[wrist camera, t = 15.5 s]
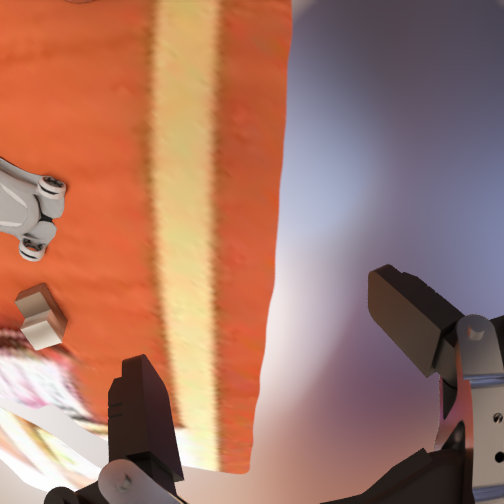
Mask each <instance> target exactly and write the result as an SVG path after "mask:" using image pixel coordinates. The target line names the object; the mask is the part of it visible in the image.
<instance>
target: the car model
mask: <svg viewBox="0 0 504 504" xmlns="http://www.w3.org/2000/svg"><path fill="white" fill-rule="evenodd" d="M65 191H66V185H65V183H63V182H61V181H58V180H55V179H54V178H53V177H51V176H40V175H36V174H32V173H29V172H26V171H24V170H21V169H19V168H17V167H15V166H13V165H11V164H10V163H8V162H6V161H5V160H3V159H1V158H0V231H1V232H4V233H8V234H12V235H14V236H16V237H17V238H18V239H19V240H20V241H21V242H20V244H19V252H20V254H21V256H22V257H23V258H25V259H27V260H29V261H39V260H41V258H42V257H43V256H44V253H45V249H46V247H47V245H48V244H49V243H50V241H51V240H52V239H53V237H54V236H55V233H56V229H57V228H56V227H55V225H54V224H53V223H52V219H55V218H59V217H61V215H62V213H63V210H64V194H65ZM27 247H30V248H34V249H35V250H37V251H33V250H30V249H28V248H27Z"/></svg>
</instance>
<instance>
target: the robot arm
mask: <svg viewBox="0 0 504 504" xmlns="http://www.w3.org/2000/svg"><path fill="white" fill-rule="evenodd" d="M66 1H68V2H72V3H85V2H90V1H93V0H66ZM368 308H369V312H370V314H371V316H372V318H373V319H374V321H375V322H376V323H377V324H378V325H379V326H380V327H381V328H382V329H383V330H384V331H385V333H387V335H388V336H389V337H390V338H391V339H392V340H393V341H394V342H395V343H396V344H397V346H398V347H399V348H400V349H401V350H402V351H403V352H404V353H405V354H406V355H407V357H408V358H409V359H410V360H411V361H412V362H413V363H414V364H415V365H416V366H417V368H418V369H419V370H420V371H421V372H422V373H423V374H424V375H425V377H426V378H427V377H429V376H430V375H432V374H433V373H435V372H436V371H437V372H438V373H439V374H440V378H439V427H438V432H437V435H436V439H435V444H434V451H433V452H430V453H427V452H426V451H425V449H424V448H422V449H421V450H419V451H418V452H416V453H415V454H413V455H411V456H410V457H408V458H407V459H405V460H403V461H402V462H400V463H399V464H397V465H395V466H394V467H392V468H391V469H390V470H389V471H388V472H387V473H386V474H385V475H384V476H383V477H382V478H380V479H379V480H378V481H377V482H376V483H375V484H374V485H373V486H371V487H370V488H369V489H368V490H367V491H365V492H364V493H362V494H360V495H356V496H352V497H348V498H344V499H339V500H335V501H330V502H325V503H320V504H504V315H503V316H500V317H497V318H494V319H491V320H488V319H487V318H485V317H483V316H481V315H476V314H470V315H466V316H465V315H463V314H462V313H461V312H460V311H459V310H458V309H456V308H455V307H454V306H453V305H451V304H450V303H449V302H448V301H447V300H446V299H444V298H443V297H442V296H441V295H439V294H438V293H435V291H434V290H433V289H432V288H431V287H429V286H427V284H426V283H424V282H423V281H422V280H421V279H419V278H418V277H416V276H414V275H411V274H408V273H405V272H403V273H401V272H399V271H398V270H397V269H395V268H394V267H393V266H392V265H389V264H387V265H384V266H382V267H380V268H378V269H375V270H373V271H371V272H370V273H369V276H368ZM108 406H109V408H108V417H109V419H108V445H109V463H108V464H107V465H106V466H105V467H104V468H103V469H102V470H101V472H100V474H99V478H98V481H96V482H95V483H93V484H91V485H89V486H86V487H84V488H82V489H80V490H78V491H76V492H74V491H72V490H70V489H69V488H66V487H56V488H54V489H52V490H51V491H50V492H49V493H48V494H47V495H46V498H45V500H44V504H189V503H188V502H187V501H185V500H184V499H183V498H181V497H180V496H179V495H177V493H176V489H175V484H174V482H178V481H183V480H184V477H183V471H182V467H181V462H180V457H179V452H178V447H177V442H176V436H175V431H174V425H173V420H172V414H171V407H170V401H169V396H168V392H167V390H166V387H165V385H164V383H163V381H162V380H161V378H160V377H159V375H158V374H157V372H156V371H155V369H154V367H153V366H152V364H151V363H150V361H149V360H148V358H147V357H146V355H144V354H142V355H139V356H135V357H132V358H129V359H125V360H123V361H122V377H119V378H116V379H114V380H113V383H112V385H111V387H110V390H109V392H108Z"/></svg>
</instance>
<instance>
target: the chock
mask: <svg viewBox="0 0 504 504" xmlns="http://www.w3.org/2000/svg"><path fill="white" fill-rule="evenodd" d="M15 304H16V305H17V307H18V308H19V310H20V311H21V313H22V314H23V316H24V318H25V320H24V323H23V325H22V328H21V331H22V332H23V334H24V335H25V336H26V338H27V339H28V340H29V342H30V343H31V344H32V346H33V347H34V348H35V350H39V349H42V348H45V347H49V346H52V345H55V344H58V343H61V342H62V340H63V336H64V332H65V328H66V325H67V319H66V318H65V316H64V315H63V313H62V311H61V310H60V308H59V307H58V305H57V303H56V302H55V300H54V298H53V297H52V295H51V293H50V292H49V290H48V288H47V287H46V285H45V283H42V284H39V285H37V286H35V287H32V288H30V289H27V290H25V291H22V292H20V293H19V294H18V296H17V298H16V300H15Z"/></svg>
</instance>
